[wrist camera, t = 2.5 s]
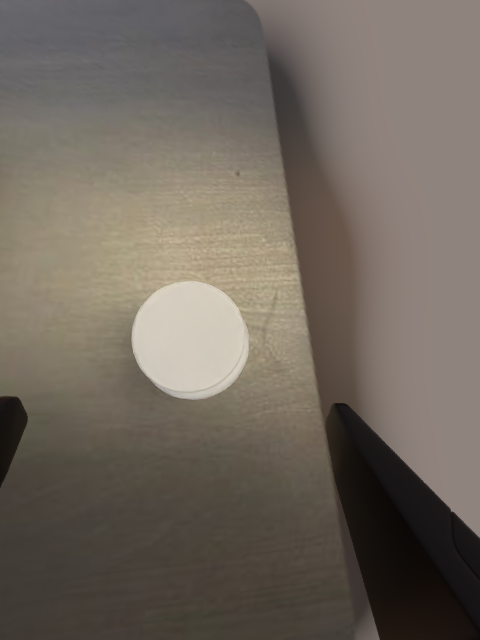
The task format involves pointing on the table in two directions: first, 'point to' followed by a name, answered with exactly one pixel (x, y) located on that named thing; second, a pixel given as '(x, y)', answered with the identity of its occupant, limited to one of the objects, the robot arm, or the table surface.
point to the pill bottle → (190, 340)
